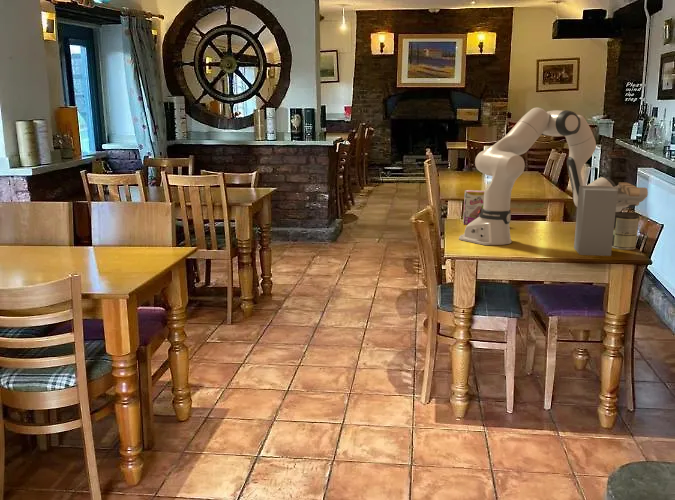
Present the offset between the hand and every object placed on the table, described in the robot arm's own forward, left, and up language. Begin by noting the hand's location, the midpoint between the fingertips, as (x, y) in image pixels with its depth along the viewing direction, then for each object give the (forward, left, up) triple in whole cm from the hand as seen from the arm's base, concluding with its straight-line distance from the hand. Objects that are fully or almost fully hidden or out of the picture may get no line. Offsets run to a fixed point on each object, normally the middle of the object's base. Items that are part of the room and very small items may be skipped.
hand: (626, 186), depth 278 cm
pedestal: (-5, -21, -25) cm, 33 cm away
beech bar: (+2, -4, -2) cm, 5 cm away
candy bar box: (-69, +1, -25) cm, 73 cm away
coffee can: (+2, -4, -25) cm, 25 cm away
